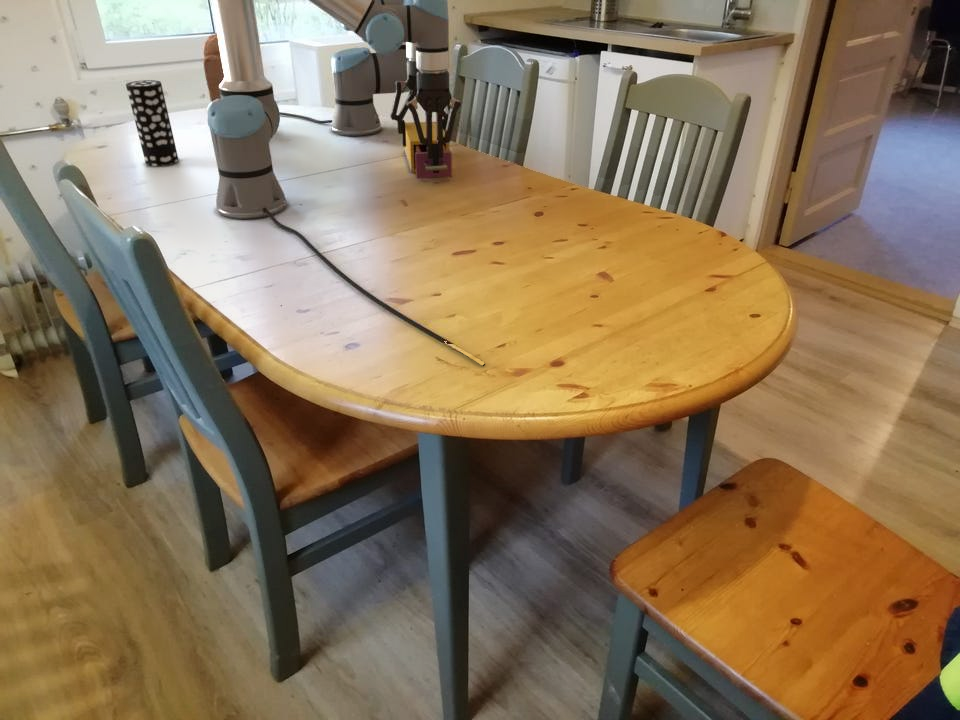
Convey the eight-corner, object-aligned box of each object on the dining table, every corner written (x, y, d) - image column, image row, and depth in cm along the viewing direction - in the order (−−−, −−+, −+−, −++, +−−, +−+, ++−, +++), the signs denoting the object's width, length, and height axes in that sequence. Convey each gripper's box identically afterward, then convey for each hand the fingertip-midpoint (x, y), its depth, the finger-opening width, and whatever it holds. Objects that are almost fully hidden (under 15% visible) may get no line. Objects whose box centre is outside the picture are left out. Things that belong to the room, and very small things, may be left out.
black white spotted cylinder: (184, 157, 190) (167, 80, 179) (169, 166, 183) (151, 87, 172) (155, 156, 190) (136, 79, 179) (139, 165, 183) (119, 86, 172)
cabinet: (449, 171, 183) (449, 140, 178) (411, 172, 181) (410, 141, 177) (439, 150, 199) (439, 121, 194) (404, 151, 197) (403, 122, 193)
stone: (257, 139, 205) (240, 35, 190) (217, 142, 202) (197, 37, 187) (254, 125, 222) (238, 28, 208) (217, 127, 219) (198, 30, 205)
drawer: (454, 183, 171) (454, 158, 168) (419, 185, 170) (418, 160, 167) (442, 156, 191) (441, 133, 187) (409, 157, 189) (408, 134, 186)
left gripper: (457, 66, 163) (458, 165, 176) (402, 67, 161) (407, 167, 174) (463, 72, 157) (463, 174, 170) (406, 74, 154) (411, 177, 167)
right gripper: (461, 55, 186) (461, 139, 198) (376, 57, 182) (382, 142, 194) (465, 60, 179) (465, 146, 191) (378, 62, 176) (383, 149, 188)
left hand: (435, 171), depth 172 cm, fingers closed
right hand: (423, 144), depth 193 cm, fingers closed on cabinet, 10 cm apart
